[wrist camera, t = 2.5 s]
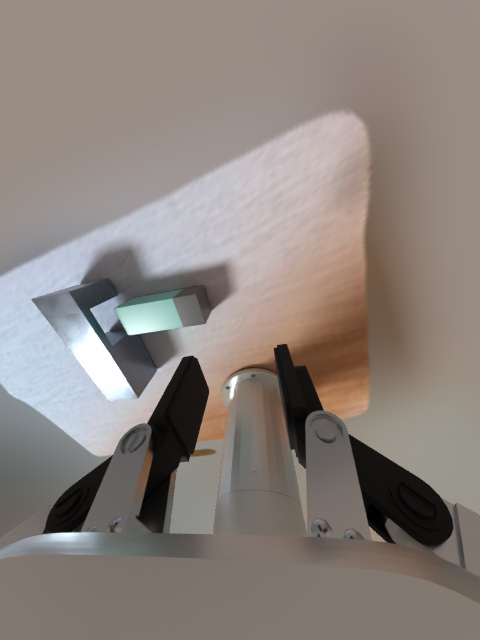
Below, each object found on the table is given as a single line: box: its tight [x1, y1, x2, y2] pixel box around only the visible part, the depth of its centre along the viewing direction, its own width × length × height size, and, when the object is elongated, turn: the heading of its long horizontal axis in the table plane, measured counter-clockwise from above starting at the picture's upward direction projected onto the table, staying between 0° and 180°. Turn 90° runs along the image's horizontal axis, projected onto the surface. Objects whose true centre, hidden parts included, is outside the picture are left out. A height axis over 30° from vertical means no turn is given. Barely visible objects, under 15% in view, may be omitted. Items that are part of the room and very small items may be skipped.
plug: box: [114, 285, 211, 335], centre depth 24 cm, size 11×4×4 cm, turn 101°
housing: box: [31, 279, 157, 401], centre depth 26 cm, size 5×17×6 cm, turn 11°
